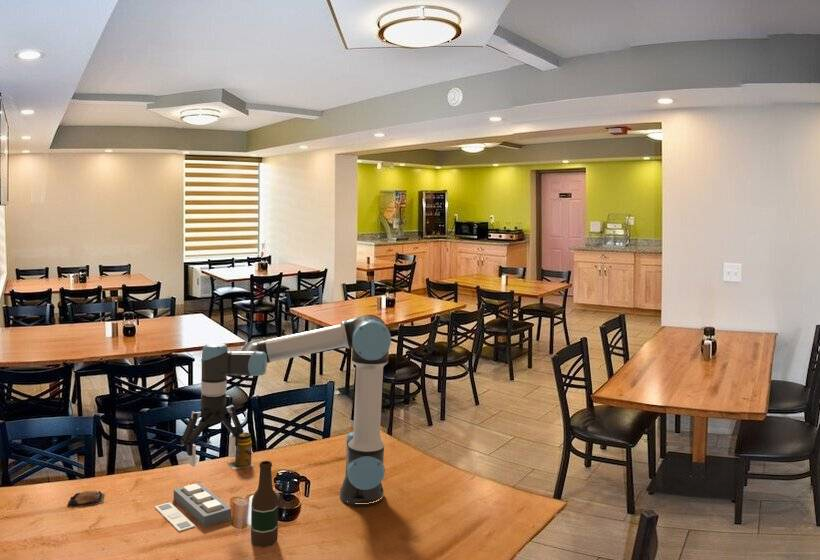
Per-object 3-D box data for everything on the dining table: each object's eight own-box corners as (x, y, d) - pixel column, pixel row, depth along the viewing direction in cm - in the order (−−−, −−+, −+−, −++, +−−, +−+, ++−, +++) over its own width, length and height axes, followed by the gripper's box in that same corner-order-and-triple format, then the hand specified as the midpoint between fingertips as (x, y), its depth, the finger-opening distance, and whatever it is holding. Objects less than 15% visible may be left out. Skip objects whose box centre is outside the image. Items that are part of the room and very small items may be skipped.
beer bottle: (252, 534, 189) (254, 457, 187) (279, 534, 190) (280, 457, 187) (248, 547, 181) (250, 467, 179) (275, 547, 182) (277, 467, 180)
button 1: (201, 495, 209) (201, 487, 208) (188, 498, 206) (188, 491, 205) (196, 490, 212) (196, 483, 212) (183, 493, 209) (183, 486, 209)
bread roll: (105, 495, 212) (105, 484, 212) (103, 505, 204) (103, 494, 204) (70, 498, 208) (70, 488, 208) (66, 509, 200) (66, 498, 200)
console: (231, 519, 198) (231, 508, 197) (204, 527, 192) (204, 516, 191) (199, 492, 215) (199, 482, 215) (173, 499, 209) (173, 489, 209)
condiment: (254, 466, 240) (255, 435, 239) (232, 470, 235) (233, 439, 234) (248, 459, 246) (249, 430, 245) (227, 463, 241) (227, 433, 240)
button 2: (221, 511, 198) (221, 504, 197) (208, 515, 195) (208, 508, 194) (215, 506, 201) (215, 499, 201) (202, 510, 198) (202, 502, 198)
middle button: (211, 503, 203) (211, 495, 203) (198, 506, 200) (198, 499, 200) (205, 498, 206) (205, 491, 206) (192, 501, 203) (192, 494, 203)
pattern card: (195, 526, 192) (195, 525, 192) (178, 531, 188) (179, 530, 188) (169, 503, 207) (169, 501, 206) (154, 507, 203) (154, 506, 203)
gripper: (244, 385, 205) (242, 448, 207) (169, 396, 189) (169, 465, 191) (255, 390, 200) (253, 455, 202) (179, 402, 183) (178, 473, 185)
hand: (212, 460), depth 196 cm, fingers open, 12 cm apart
